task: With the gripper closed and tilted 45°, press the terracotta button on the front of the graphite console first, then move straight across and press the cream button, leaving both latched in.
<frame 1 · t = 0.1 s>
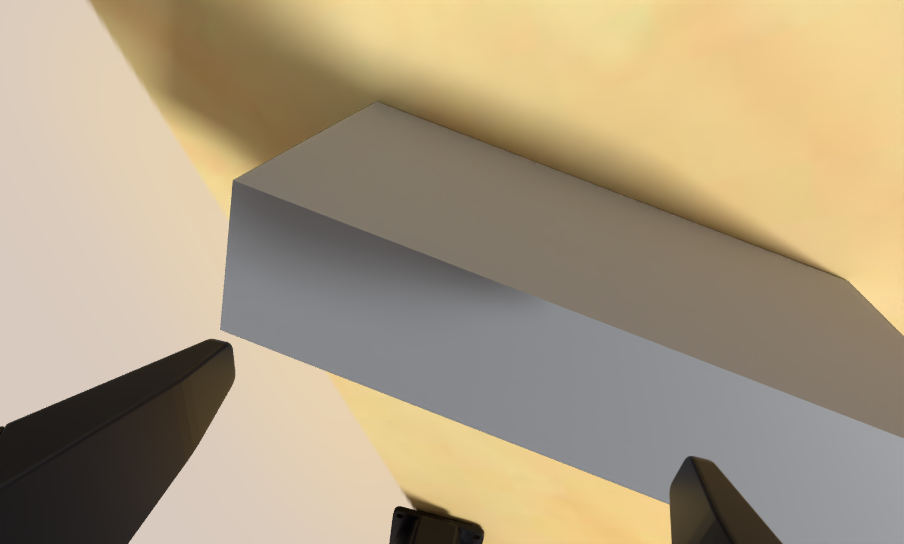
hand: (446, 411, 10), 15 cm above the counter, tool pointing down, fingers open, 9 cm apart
console: (585, 238, 23), on the counter
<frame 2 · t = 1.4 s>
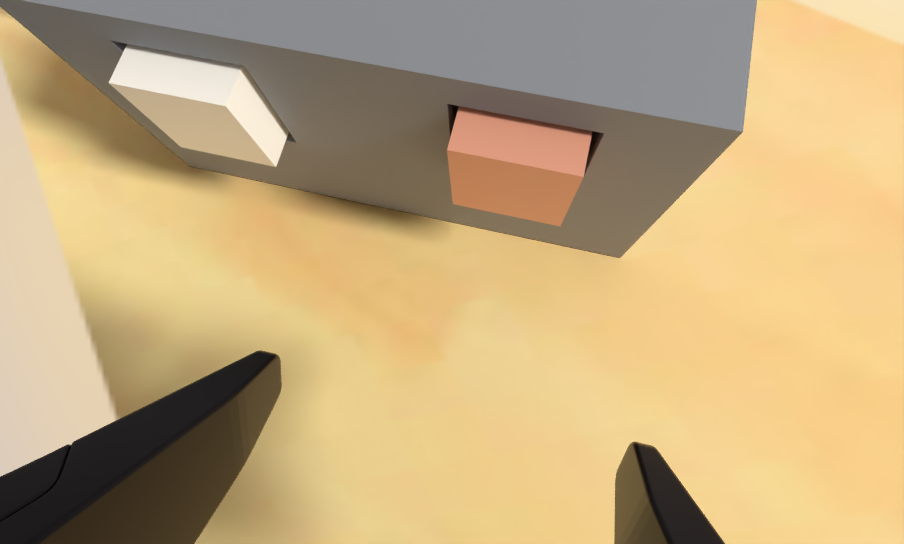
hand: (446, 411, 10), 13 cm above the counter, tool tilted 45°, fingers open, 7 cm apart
console: (407, 164, 25), on the counter
cream button: (209, 107, 18), point 7 cm above the counter, slide at 0.0 cm
terracotta button: (515, 167, 16), point 7 cm above the counter, slide at 0.0 cm
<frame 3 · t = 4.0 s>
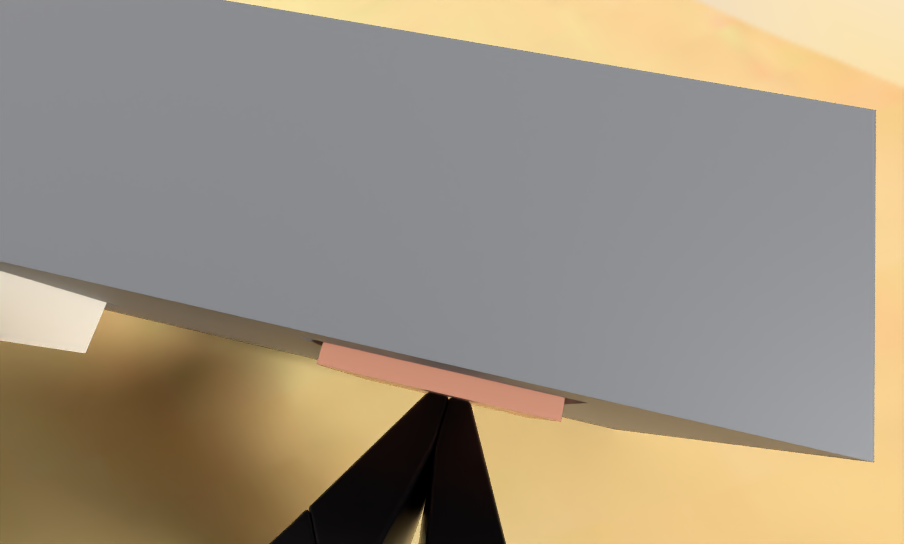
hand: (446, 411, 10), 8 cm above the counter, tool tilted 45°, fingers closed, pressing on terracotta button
console: (325, 289, 18), on the counter
terracotta button: (452, 351, 10), point 8 cm above the counter, slide at 1.0 cm, touching gripper
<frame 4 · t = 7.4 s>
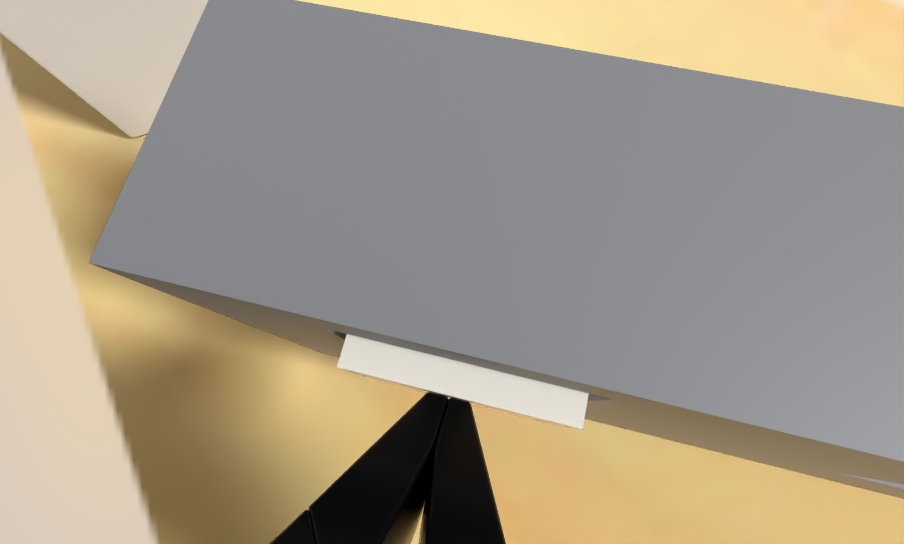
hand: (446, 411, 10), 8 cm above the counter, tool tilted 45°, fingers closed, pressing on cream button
milk carton: (208, 53, 22), on the counter
console: (639, 356, 17), on the counter
cream button: (470, 355, 10), point 7 cm above the counter, slide at 0.8 cm, touching gripper
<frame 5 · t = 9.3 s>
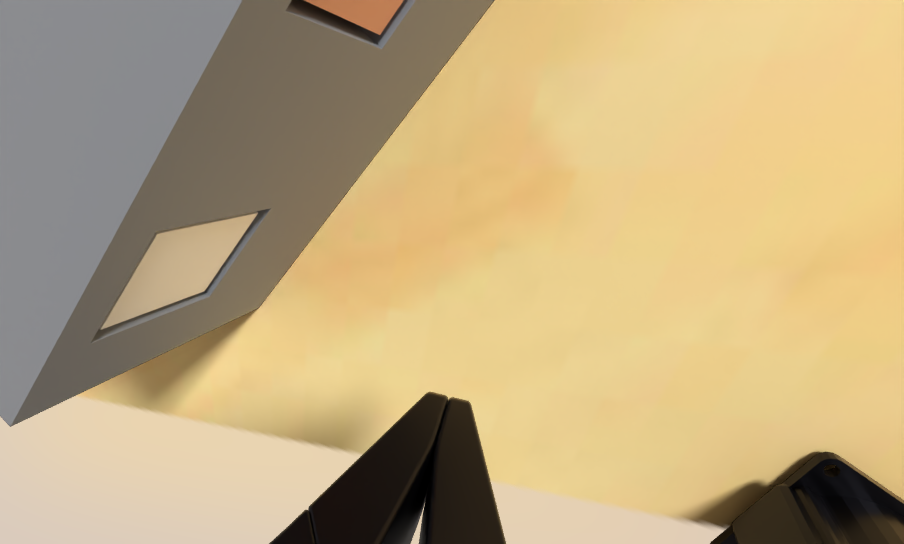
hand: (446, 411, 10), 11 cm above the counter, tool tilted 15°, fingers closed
console: (347, 94, 20), on the counter
cream button: (165, 247, 16), point 7 cm above the counter, slide at 1.4 cm
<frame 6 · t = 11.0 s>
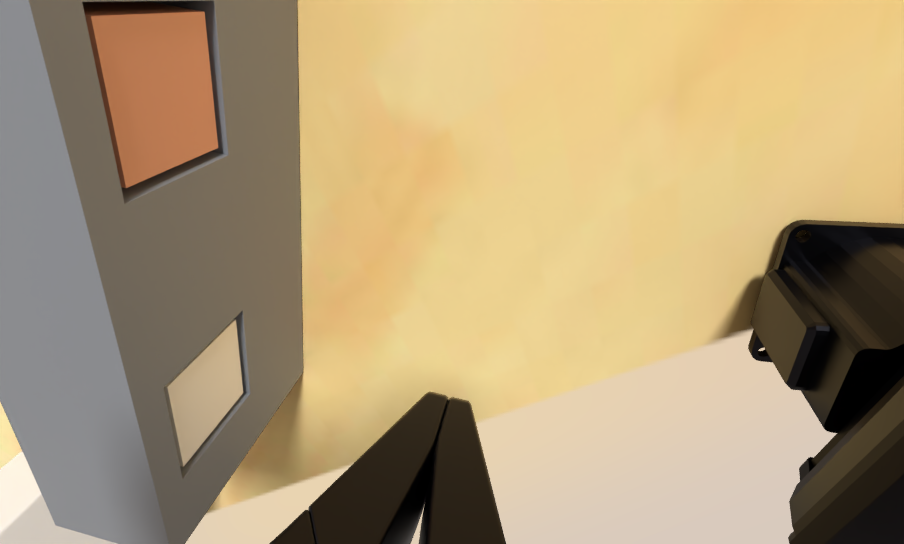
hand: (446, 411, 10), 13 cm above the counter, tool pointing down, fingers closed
milk carton: (152, 428, 34), on the counter
console: (249, 181, 23), on the counter
cream button: (189, 384, 19), point 8 cm above the counter, slide at 1.4 cm
terracotta button: (137, 89, 14), point 8 cm above the counter, slide at 1.4 cm
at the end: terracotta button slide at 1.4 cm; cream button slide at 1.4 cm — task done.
